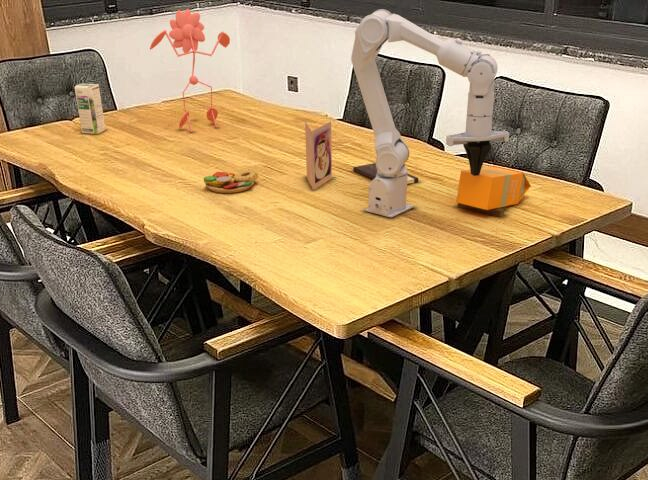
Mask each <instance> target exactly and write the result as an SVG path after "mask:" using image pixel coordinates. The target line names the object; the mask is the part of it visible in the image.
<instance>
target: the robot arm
mask: <svg viewBox="0 0 648 480" xmlns="http://www.w3.org/2000/svg"><path fill="white" fill-rule="evenodd" d="M401 41H404V42H406V43H409V44H411V45H413V46H415V47H417V48H419V49H420V50H421V49H422V50H423V51H425V52H427V53H430V54H432V55H434V56H435V57H436V59H437V62H438V64H439V66H441V67H444V68H446V69H448V70H449V71H452V72H453V73H455V74H457V75H459V76H461V77H463V78H467V80H468V82H469V89H468V94H467V105H466V106H467V107H466V120H465V131H464V132H460V133H456V134H449V135H446V139H445V144H446V146H448V147H453V146H459V145H462V146H463V148H464V151H465V153H466V156H467V159H468V160H467V161H468V163H469V167H470V168H469V169H470V171H471V174H472V175H473V176H478V175H479V174H480V171H481V168H483V165H484V162H485V160H486V158H487V157H488V155H489V153H490V152H491V151H492V146H493V145H492V144H491V143H494V142H509V141H510V132H509V131H507V130H492V123H493V113H494V102H495V92H494V91H495V79H496V75H497V73H498V63H497V61H496V59H495V58H494V57H492V56H491V55H490V53H482V51H481V50H479V49H477V50H475V49H472V48H471V47H469V46H467V45H465V44H464V43H463V40H462V39H461V38H458V37H457V38H456V39H454V38H449V39H445V40H442V39H441V38H440V37H437V36H435V35H433V34H432V33H430V32H429V31H427V30H425V29H423V28H422V27H420V26H418V25H417V24H415V23H413V22H411V21H409V20H408V19H407V18H404V17H402V16H401V15H399V14H396V13H391V12H390V11H389V10H387V9H384V8H382V9H381V8H380V9H377V10H375V11H373V12H372V13H371V14H368V15H366V16H364V18H362V19H361V21H360V23H359V24H358V26H357V27H356V29H355V30H354V42H353V46H352V50H351V51H352V52H351V57H350V59H351V60H350V61H351V64H352V67H353V71H354V73H355V77H356V81H357V84H358V87H359V90H360V94H361V96H362V99H363V102H364V106H365V110H366V112H367V116H368V119H369V122H370V125H371V129H372V131H373V135H374V150H375V155H376V156H375V163H376V167H377V169H378V170H377V176H376V177H375V179H371V181H370V182H369V185H368V207H367V208H365V212H368V213H370V214H371V213H372V214H375V215H379V216H384V217H387V218H393V217H396V216H399V215H400V214H403V213H405V212H407V211H409V210H411V209H413V208H414V205H413V204H409V203H407V200H408V199H407V198H408V197H407V196H408V184H407V173H408V168H407V167H406V165H405V164H406V163H407V162H408V160H409V158H410V149H409V146H408V145H407V143H406V142H405V141H404V140H403V137H402V135H401V133H400V132H399V131H398V129H397V128H396V124H395V122H394V119H393V114H392V112H391V109H390V105H389V102H388V99H387V95H386V92H385V88H384V85H383V81H382V79H381V74H380V71H379V67H378V64H377V62H376V58H377V56H378V55H379V53H380V51H381V50H382V46H383V45H384V44H385V43H395V42H401Z"/></svg>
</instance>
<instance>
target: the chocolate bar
mask: <svg viewBox="0 0 648 480" xmlns="http://www.w3.org/2000/svg"><path fill="white" fill-rule="evenodd" d="M377 170H378V169H377V167H376V162H373V163H369V164H368V163H367V164H363V165H358V166H353V172H355V173H358V174H359V175H362V176H364V177H366V178H369V179H371V180H373V179H375V177H376V176H377ZM418 182H419V177H417V176H414V175H412V174H410V173H408V172H407V185H408V184H413V183H418Z"/></svg>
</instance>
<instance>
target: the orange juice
mask: <svg viewBox="0 0 648 480" xmlns="http://www.w3.org/2000/svg"><path fill="white" fill-rule="evenodd" d="M458 181H459V182H458V189H457V195H456V201H455V202H456V203H457V204H458V203H461V204H465V205H469V206H473V207H477V208H481V209H485V210H489V209H494V208H503V207H508V206H513V205H518V204H519V202H520V201H521V200H522V198H524V196H525V194H526V193H527V192H528V190H530V188H531V187H532V185H531V183H530V182H529V180H528V178H527V177H526V175H525V173H524V171H520V170H515V169H511V168H505V167H500V166H496V165H492V166H485V167H482V168H481V171H480V174H479V175H478V176H473V175H472V174H471V171H470V168H469V169H463V170H460V174H459V180H458Z"/></svg>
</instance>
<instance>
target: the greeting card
mask: <svg viewBox="0 0 648 480" xmlns="http://www.w3.org/2000/svg"><path fill="white" fill-rule="evenodd" d="M304 126H305V127H304V130H305V132H304V133H305V134H304V135H305V161H306V165H305V167H306V179H307V181H308V183H309V184H310V187H311V190H313V191H315V190H316V189H318V188H320V187H321V186H322V185H324V184H325V183H327V182H328V181H330V180H331V179H332V178H333V158H332V155H333V153H332V151H333V150H332V120H330V121H328V122H326V123H324V124H322V125H320V126H319V127H317V128H315V129H313V130H311V128H310V126H309V124H308V123H307V121H306V120H304Z"/></svg>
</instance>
